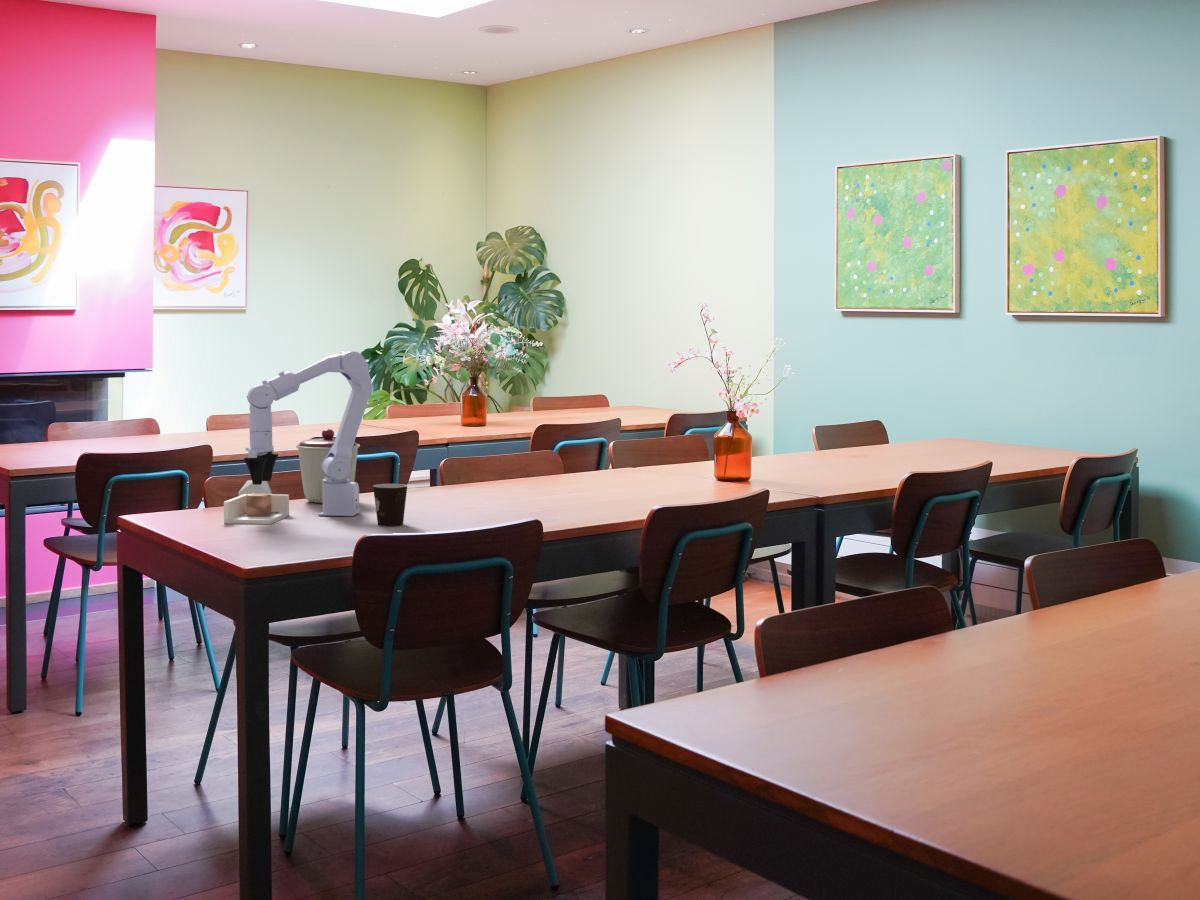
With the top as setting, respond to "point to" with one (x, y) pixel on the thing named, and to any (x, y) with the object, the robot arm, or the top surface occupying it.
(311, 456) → the canister
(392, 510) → the coffee mug
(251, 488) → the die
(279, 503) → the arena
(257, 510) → the cube
